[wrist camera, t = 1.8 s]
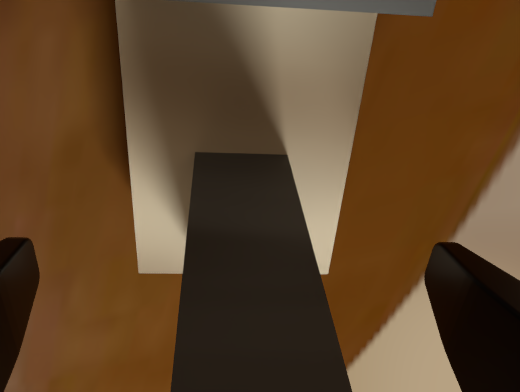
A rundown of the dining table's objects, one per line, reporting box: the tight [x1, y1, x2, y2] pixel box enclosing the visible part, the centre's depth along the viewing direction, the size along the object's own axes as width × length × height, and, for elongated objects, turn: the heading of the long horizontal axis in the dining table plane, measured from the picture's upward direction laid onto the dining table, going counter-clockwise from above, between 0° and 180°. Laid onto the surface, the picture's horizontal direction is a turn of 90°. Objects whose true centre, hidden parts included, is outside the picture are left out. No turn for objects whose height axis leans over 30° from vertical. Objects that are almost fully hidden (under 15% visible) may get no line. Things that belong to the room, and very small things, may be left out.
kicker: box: [115, 0, 436, 392], centre depth 8 cm, size 8×5×7 cm, turn 176°
